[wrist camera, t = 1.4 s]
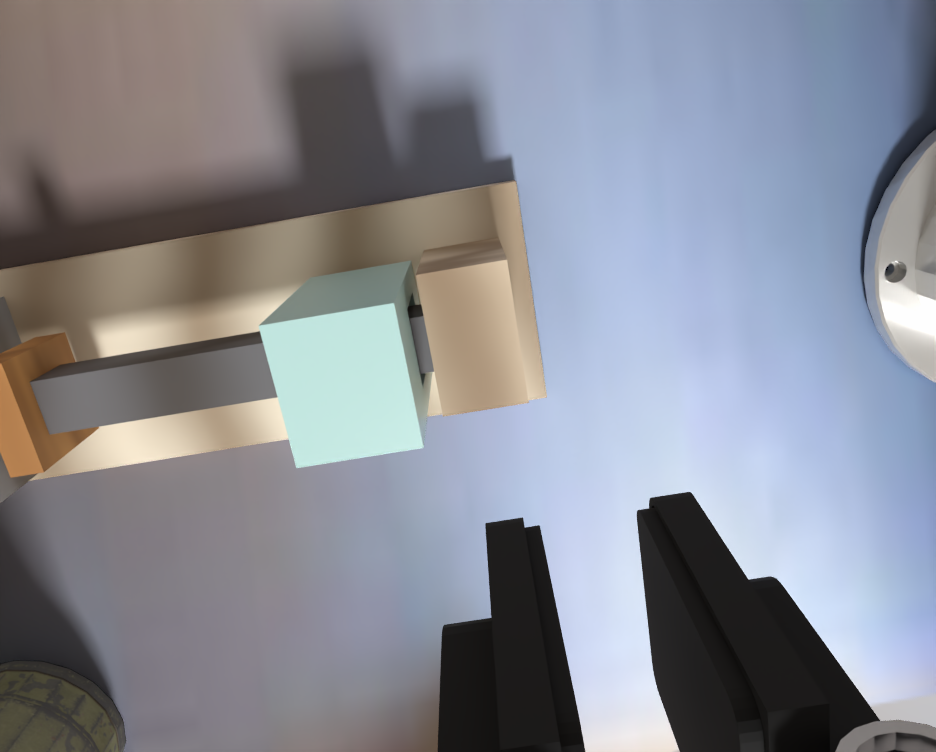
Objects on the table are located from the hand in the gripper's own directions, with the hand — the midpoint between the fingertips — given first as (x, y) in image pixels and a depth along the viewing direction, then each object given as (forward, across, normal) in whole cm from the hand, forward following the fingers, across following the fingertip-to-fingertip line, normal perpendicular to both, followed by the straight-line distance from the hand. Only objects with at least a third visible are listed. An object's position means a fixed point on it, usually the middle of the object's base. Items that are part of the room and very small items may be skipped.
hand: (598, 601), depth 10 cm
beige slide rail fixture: (+21, +12, 0) cm, 24 cm away
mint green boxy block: (+19, +5, 0) cm, 20 cm away
